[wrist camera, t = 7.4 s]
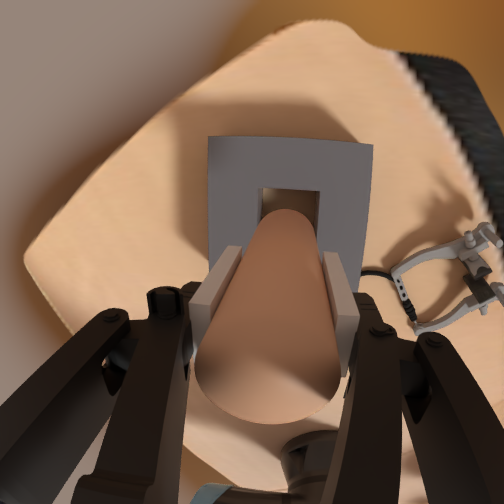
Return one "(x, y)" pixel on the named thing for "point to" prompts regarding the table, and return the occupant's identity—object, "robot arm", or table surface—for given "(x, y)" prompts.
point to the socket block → (290, 177)
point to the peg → (273, 329)
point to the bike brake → (477, 268)
